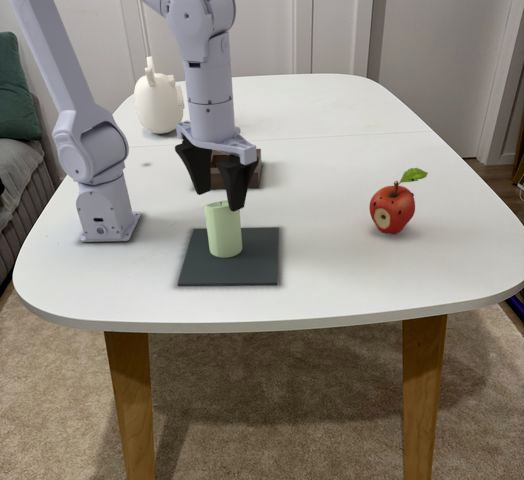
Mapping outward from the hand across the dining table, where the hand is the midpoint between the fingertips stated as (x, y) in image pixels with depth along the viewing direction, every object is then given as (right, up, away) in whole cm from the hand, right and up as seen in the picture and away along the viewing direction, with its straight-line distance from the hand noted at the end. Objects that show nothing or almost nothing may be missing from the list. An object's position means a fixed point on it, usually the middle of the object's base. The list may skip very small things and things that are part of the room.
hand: (220, 200), depth 72 cm
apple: (+27, -3, +9) cm, 28 cm away
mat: (+1, -7, +5) cm, 9 cm away
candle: (+1, -6, +5) cm, 8 cm away
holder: (0, +13, +27) cm, 30 cm away
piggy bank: (-17, +30, +49) cm, 60 cm away
